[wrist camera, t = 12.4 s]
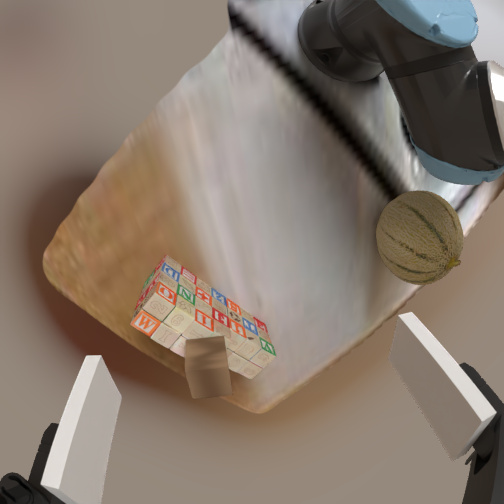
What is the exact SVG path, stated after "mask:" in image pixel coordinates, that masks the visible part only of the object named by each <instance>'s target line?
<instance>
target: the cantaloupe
mask: <svg viewBox="0 0 504 504" xmlns="http://www.w3.org/2000/svg"><path fill="white" fill-rule="evenodd" d="M463 238H464V236H463V230H462V227H461V224H460V220H459V217H458V215H457V213H456V212H455V210H454V209H453V208H452V206H451V205H450V204H449V203H448V202H447V201H446V200H445V199H443V198H442V197H441V196H439V195H437V194H435V193H432V192H429V191H418V190H417V191H410V192H406V193H403V194H401V195H400V196H398V197H397V198H396V199H394V200H392V201H391V202H390V203H388V204H387V205H386V207H385V208H384V210H383V211H382V214H381V215H380V218H379V221H378V223H377V227H376V240H377V248H378V252H379V254H380V256H381V258H382V260H383V262H384V263H385V265H386V266H387V267H388V268H389V269H390V270H391V272H392V273H393V274H395V275H396V276H397V277H398V278H400V279H401V280H403V281H406V282H408V283H411V284H416V285H426V284H431V283H433V282H435V281H437V280H439V279H441V278H443V277H444V276H446V275H447V274H448V273H449V271H450V270H451V269H452V268H453V267H454V266H457V265H460V263H461V261H460V260H458V259H459V257H460V254H461V251H462V248H463Z"/></svg>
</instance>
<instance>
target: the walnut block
mask: <svg viewBox="0 0 504 504" xmlns="http://www.w3.org/2000/svg"><path fill="white" fill-rule="evenodd" d="M185 374H186V377H187V381H188V384H189V388H190V391H191V395H192V398H193V399H199V398H209V397H218V396H227V395H233V393H232V386H231V379H230V372H229V365H228V359H227V352H226V345H225V338H224V336H216V337H207V338H198V339H188V340H186V346H185Z"/></svg>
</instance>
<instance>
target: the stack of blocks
mask: <svg viewBox="0 0 504 504" xmlns="http://www.w3.org/2000/svg"><path fill="white" fill-rule="evenodd" d="M131 325H132V326H133V327H135V328H136V329H138V330H140V331H141V332H143V333H144V334H146V335H148V336H150V338H151V339H152V340H154V341H156V342H158V343H159V344H161V345H163V346H164V347H166V348H168V349H169V348H170V350H171V351H173V352H175V353H177V354H178V355H180V356H182V357H184V358H185V346H186V340H188V339H198V338H207V337H216V336H224V338H225V345H226V352H227V359H228V365H229V369H230V370H232V371H234V372H237V373H239V374H241V375H243V376H245V377H247V378H249V379H252V378H253V377H254V376H255V375H257V374H258V373H259V372H260V371H261V370H262V369H263V368H264V367H265V366H266V365H268V364H269V363H270V362H271V361H272V360H273V359H274V358H275V357H276V354H275V350H274V347H273V345H272V343H271V340H270V337H269V334H268V331H267V328H266V325H265V324H264V323H262V322H261V321H259V320H258V319H256V318H255V317H253V316H252V315H251V314H250V313H248V312H247V311H245V310H244V309H242V308H240V307H239V306H238V305H236V304H235V303H234V302H232V301H231V300H229V299H228V298H225V297H224V296H223V295H221V294H220V293H218V292H217V291H216V290H214V289H213V288H211V287H210V286H208V285H207V284H205V283H204V282H203V281H201V280H200V279H198V278H197V277H196V276H195V275H193V274H192V273H191V272H189V271H188V270H187V269H185V268H184V267H182V266H181V265H180V264H179V263H177V262H176V261H175V260H173V259H172V258H171V257H169V256H168V255H166V256H165V257H164V258H163V260H162V261H161V262H160V263H159V265H158V266H157V267H156V269H155V270H154V272H153V273H152V274H151V275H150V277H149V278H148V279H147V281H146V282H145V284H144V287H143V290H142V293H141V295H140V298H139V301H138V303H137V306H136V308H135V312H134V315H133V318H132V321H131Z"/></svg>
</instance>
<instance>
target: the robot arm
mask: <svg viewBox="0 0 504 504" xmlns="http://www.w3.org/2000/svg"><path fill="white" fill-rule="evenodd" d="M477 21H478V19H477V15H476V12H475V9H474V7H473V5H472V3H471V1H470V0H315V1H314V2H312V3H311V4H310V5H309V6H308V7H307V8H306V9H305V11H304V12H303V14H302V16H301V18H300V21H299V26H298V34H299V40H300V43H301V46H302V48H303V50H304V52H305V54H306V55H307V57H308V58H309V60H310V61H311V62H312V63H313V64H314V65H315V66H316V67H317V68H318V69H319V70H321V71H322V72H323V73H325V74H327V75H328V76H330V77H332V78H335V79H337V80H340V81H345V82H361V81H365V80H369V79H372V78H375V77H376V76H378V75H380V74H381V73H382V72H383V71H385V73H386V75H387V77H388V80H389V82H390V84H391V87H392V89H393V91H394V94H395V96H396V98H397V101H398V103H399V106H400V108H401V111H402V113H403V116H404V118H405V121H406V124H407V126H408V129H409V132H410V139H411V142H412V144H413V145H414V147H415V148H416V151H417V154H418V156H419V159H420V162H421V164H422V165H423V167H424V168H425V169H426V170H427V171H428V172H429V173H430V174H431V175H433V176H434V177H436V178H438V179H440V180H443V181H446V182H450V183H454V184H461V185H476V184H481V183H482V181H486V182H491V181H493V180H495V179H497V178H498V177H500V176H501V175H502V174H503V172H504V68H503V67H501V66H500V65H498V64H497V63H496V62H494V61H482V62H478V60H477V58H476V56H475V54H474V51H473V49H472V46H471V43H472V42H473V41H474V39H475V38H476V36H477V33H478V25H477V24H476V22H477ZM388 360H389V362H390V363H391V365H392V366H393V368H394V369H395V371H396V372H397V374H398V375H399V377H400V379H401V380H402V381H403V383H404V385H405V386H406V387H407V389H408V391H409V392H410V394H411V395H412V397H413V399H414V400H415V402H416V403H417V405H418V406H419V408H420V410H421V411H422V413H423V415H424V416H425V418H426V419H427V421H428V423H429V424H430V426H431V428H432V429H433V431H434V432H435V434H436V436H437V437H438V439H439V441H440V442H441V444H442V446H443V447H444V449H445V451H446V453H447V454H448V456H449V458H450V459H451V461H454V460H456V459H458V458H459V457H461V456H463V455H464V454H466V453H467V451H469V449H470V448H471V447H472V446H473V447H474V449H475V451H474V452H473V453H472V454H471V456H470V457H469V458H468V459H467V460H466V463H465V465H467V464H468V463H469V462H470V461H471V460H472V462H471V464H470V465H471V467H470V472H469V478H468V481H467V486H466V490H465V494H464V498H463V502H462V504H504V404H503V403H502V401H501V400H500V399H499V398H498V396H497V395H496V394H495V393H494V392H493V390H492V389H491V388H490V387H489V386H488V385H487V384H486V382H485V381H484V379H483V378H481V376H480V375H479V374H478V372H477V371H476V370H475V369H474V368H473V367H471V366H469V365H468V364H466V363H462V364H460V365H458V364H457V363H456V361H455V360H454V359H453V358H452V357H451V355H450V354H449V353H448V352H447V351H446V350H445V349H444V347H443V346H442V345H441V344H440V343H439V342H438V340H437V339H436V338H435V337H434V336H433V335H432V334H431V333H430V331H429V330H428V329H427V328H426V327H425V326H424V325H423V324H422V323H421V322H420V320H419V319H418V318H417V317H416V316H415V315H414V314H413V313H412V312H410V313H405V314H401V315H398V319H397V324H396V328H395V333H394V337H393V342H392V346H391V350H390V354H389V358H388ZM121 399H122V397H121V395H120V393H119V391H118V389H117V387H116V385H115V383H114V381H113V379H112V377H111V375H110V373H109V371H108V369H107V367H106V365H105V363H104V361H103V359H102V357H101V355H100V356H86V358H85V360H84V362H83V365H82V367H81V370H80V372H79V374H78V377H77V379H76V382H75V384H74V386H73V389H72V392H71V394H70V397H69V399H68V402H67V404H66V407H65V410H64V413H63V415H62V418H61V421H60V424H56V423H51V424H50V426H49V427H48V428H47V429H46V430H45V432H44V434H43V437H42V440H41V444H40V445H39V449H38V453H37V454H36V457H35V460H34V464H33V467H32V470H31V473H30V476H29V480H28V481H27V480H25V479H24V478H23V477H22V476H21V475H19V474H18V473H13V472H12V473H8V474H6V475H5V476H3V478H2V479H1V481H0V504H101V500H102V493H103V487H104V481H105V475H106V469H107V464H108V458H109V453H110V448H111V443H112V438H113V433H114V429H115V424H116V420H117V415H118V411H119V407H120V403H121Z"/></svg>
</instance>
